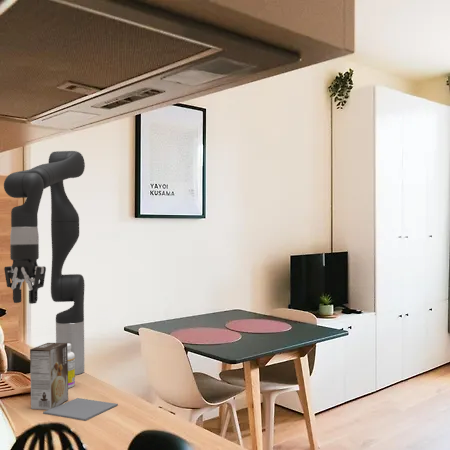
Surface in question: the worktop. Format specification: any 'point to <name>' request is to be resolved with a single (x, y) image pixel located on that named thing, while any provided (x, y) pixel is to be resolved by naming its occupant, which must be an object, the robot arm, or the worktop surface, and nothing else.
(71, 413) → the mat
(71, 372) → the supplement bottle
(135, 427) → the worktop surface
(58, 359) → the coffee box
